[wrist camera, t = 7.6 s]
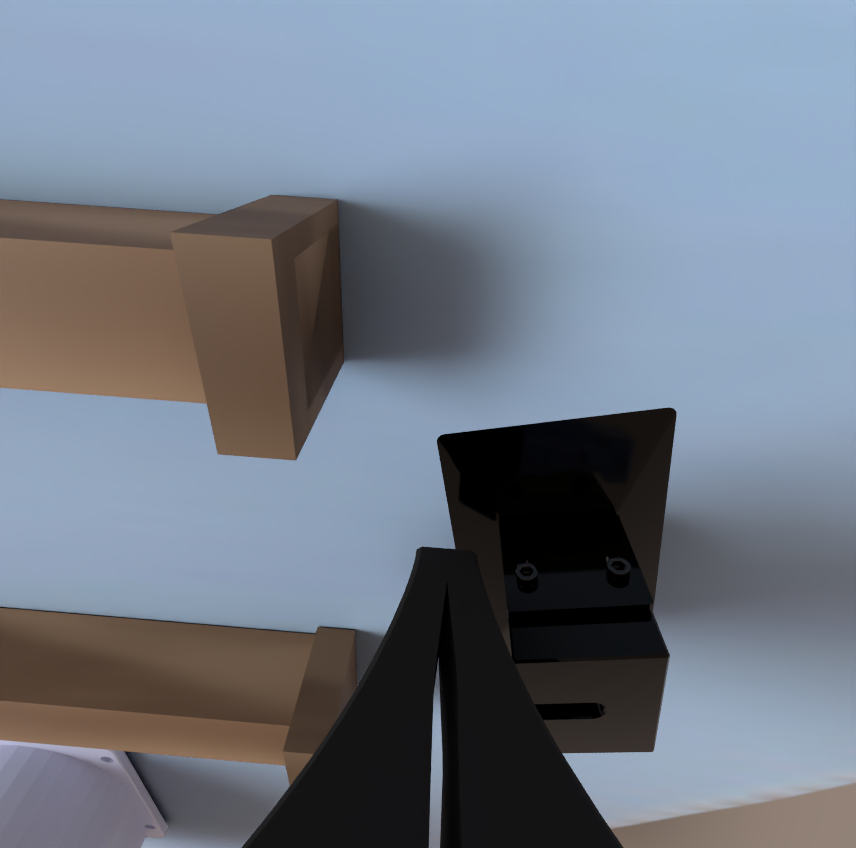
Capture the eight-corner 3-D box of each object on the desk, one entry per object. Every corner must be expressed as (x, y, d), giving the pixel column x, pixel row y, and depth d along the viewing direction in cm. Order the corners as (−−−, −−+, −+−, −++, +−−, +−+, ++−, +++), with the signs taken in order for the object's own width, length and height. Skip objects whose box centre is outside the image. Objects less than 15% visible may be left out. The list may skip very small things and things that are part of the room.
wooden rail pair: (357, 685, 17) (334, 808, 14) (-29, 652, 17) (-134, 765, 14) (337, 199, 9) (270, 239, 6) (-414, 147, 9) (-871, 158, 6)
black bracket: (390, 363, 11) (351, 490, 7) (725, 321, 10) (895, 440, 6) (458, 675, 17) (457, 835, 13) (669, 667, 16) (736, 838, 12)
